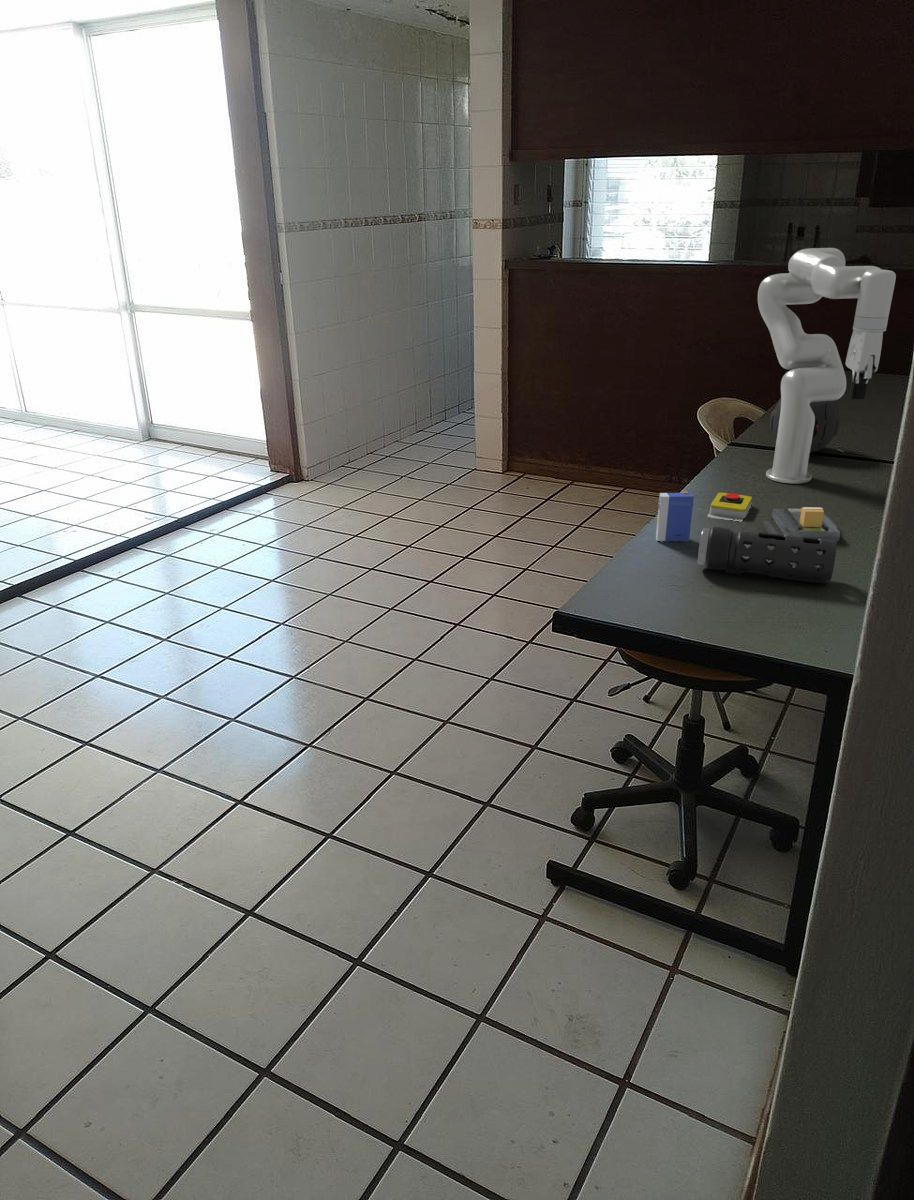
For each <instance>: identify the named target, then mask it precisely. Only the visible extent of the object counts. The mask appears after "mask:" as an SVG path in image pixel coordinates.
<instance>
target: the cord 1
mask: <svg viewBox="0 0 914 1200" xmlns="http://www.w3.org/2000/svg"><path fill="white" fill-rule="evenodd" d="M763 526H764V527H763ZM762 527H763V529H764V528H765V529H766V530H765V529H764V530H765V532H766V531H767V532H768V533H770V534H779V533H778V531H777V530H776V528H774V526H773V524H772V523H771V522H770V520H763V523H762ZM767 532H766V533H767Z"/></svg>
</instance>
